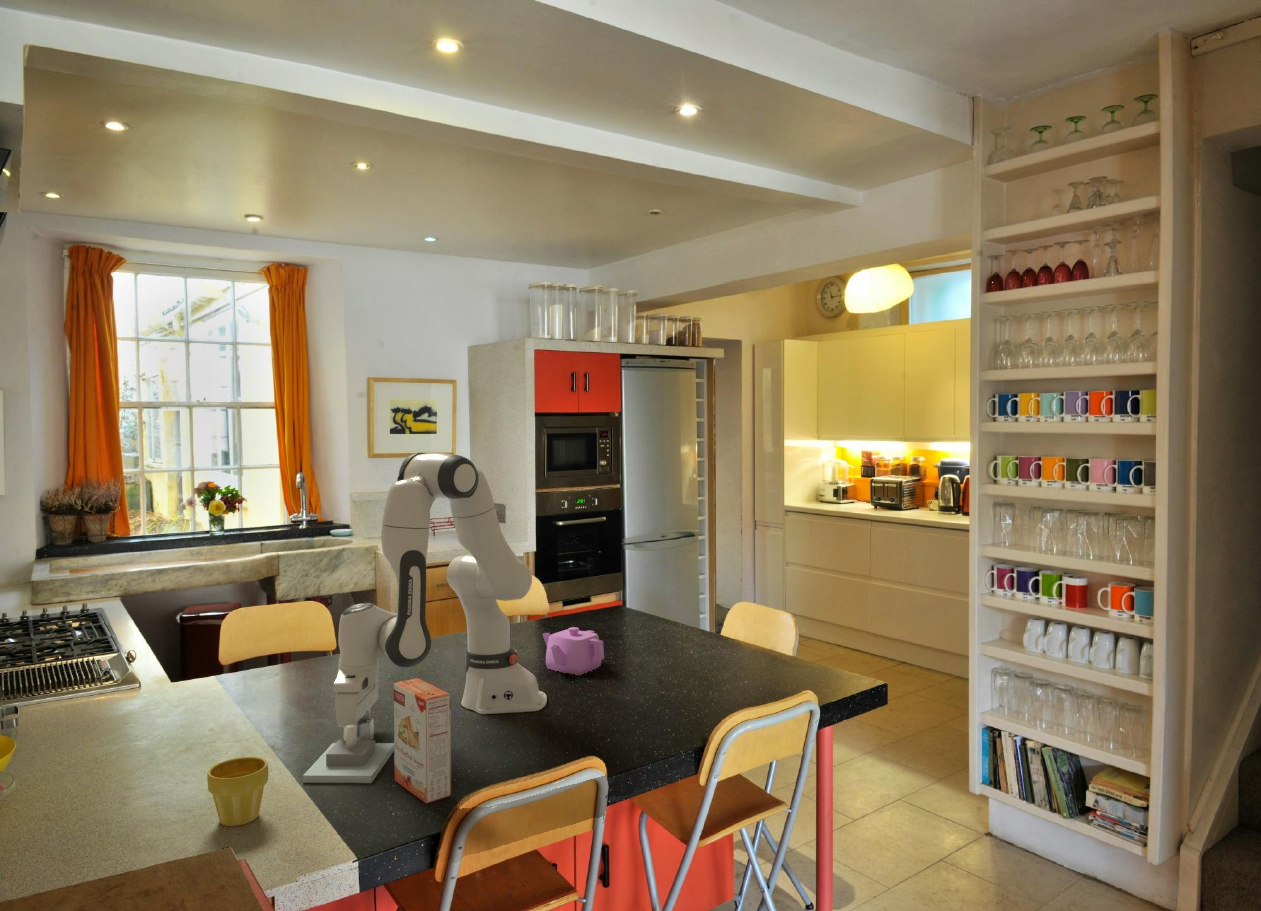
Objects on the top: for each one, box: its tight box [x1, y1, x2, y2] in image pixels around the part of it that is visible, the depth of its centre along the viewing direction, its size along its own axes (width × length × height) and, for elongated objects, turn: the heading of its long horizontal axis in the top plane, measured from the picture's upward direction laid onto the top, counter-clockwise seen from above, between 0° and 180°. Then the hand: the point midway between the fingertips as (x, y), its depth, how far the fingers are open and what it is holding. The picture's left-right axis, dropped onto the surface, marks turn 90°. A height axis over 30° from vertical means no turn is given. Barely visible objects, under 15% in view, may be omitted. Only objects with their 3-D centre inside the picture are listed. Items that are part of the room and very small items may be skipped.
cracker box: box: [393, 677, 452, 804], centre depth 172 cm, size 14×6×21 cm, turn 41°
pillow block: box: [302, 725, 394, 784], centre depth 184 cm, size 14×18×8 cm
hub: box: [343, 715, 375, 740], centre depth 199 cm, size 6×6×4 cm
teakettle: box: [542, 626, 605, 676], centre depth 259 cm, size 17×17×12 cm
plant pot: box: [206, 756, 269, 827], centre depth 159 cm, size 10×10×10 cm
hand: (358, 732), depth 199 cm, fingers closed on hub, 6 cm apart
